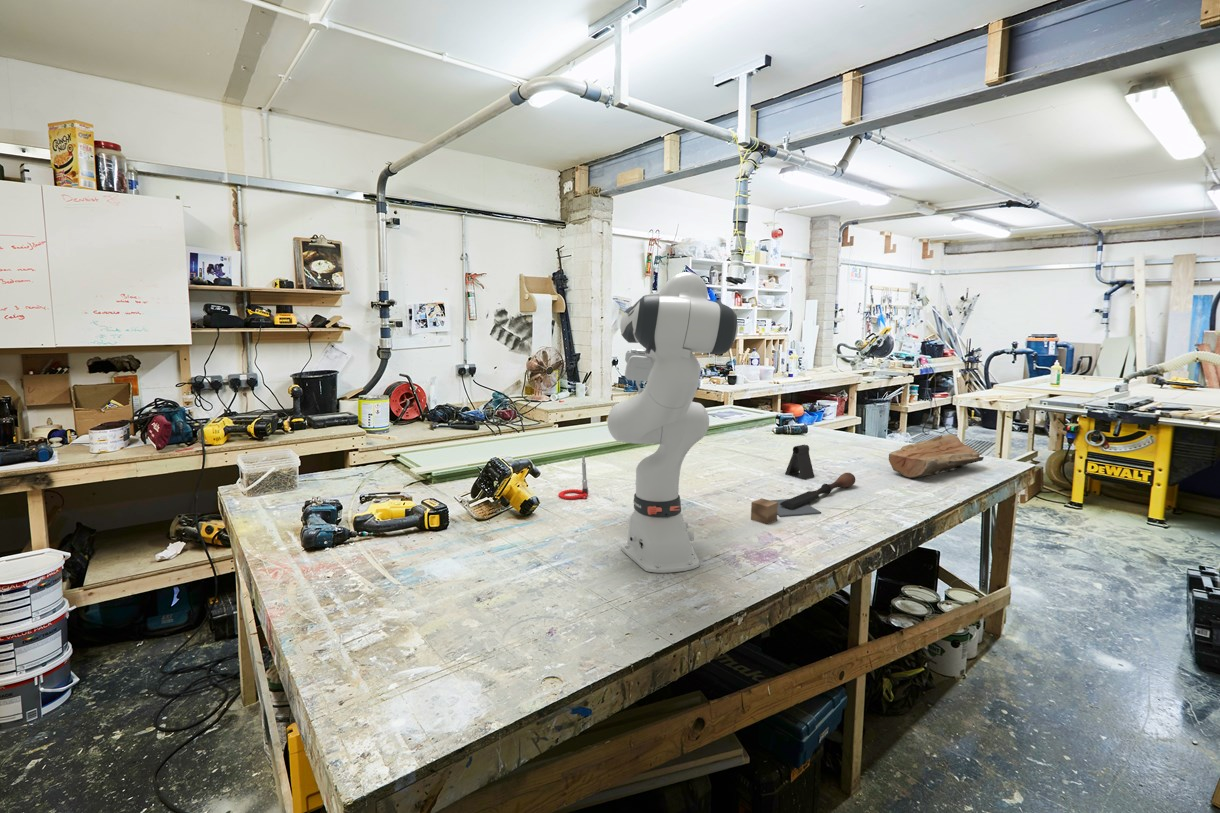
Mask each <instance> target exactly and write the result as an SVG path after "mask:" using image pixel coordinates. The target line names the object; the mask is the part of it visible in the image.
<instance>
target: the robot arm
mask: <svg viewBox="0 0 1220 813" xmlns="http://www.w3.org/2000/svg"><path fill="white" fill-rule="evenodd" d="M708 295H709V294H708V287H707V283H706V282H705V281H704V279H703V278H702V277H701V276H700V275H698V274H696V273H694V272H691V271H682V272H678V273H677V274H674V275H673V276H671V278H669V279H668V280H667V281H666V282H665V283H664V284H663V285H662V287H661V289H660V290H657V291H655V292H653V293H651V294H644V295H643V296H642V297H641V298H640V299H638V301H636V302H635V303H634V304H633V305H632V306H630V307H628V308H626V310H625V311H624V312H623V314H622V316H621V320H620V324H619V325H620V328H619V329H620V333H621V334H620V335H621V337H622V338H623V339H624V340H625V341H626V342H627V343H628V344H640V345H641V347H643V348H645V349H635V348H632V349H630V350H627V351H626V353H625V360H624V361H625V362H626V365H625V370H624V377H625V378H626V380H627V381H635V385H636V387H637V390H638V392H637V394H636V395H635V396H633V397H631V398H629V399H627V400H624V401H621V402H618V403H615V404H614V405H613V406H612V408H611V409H610V410H609V412H608V415H607V416H608V417H607V428H608V431H609V433H610V435H611V436H612V438H613V439H614V440H615V441H617V442H623V443H627V444H633V445H635V444H637V445H638V444H639V445H640V444H641V445H644V444H645V445H646V444H659V446H658V448H657V449H656V451H654V453H652V454H650V455H648V456H646V457H644V458H643V459H641V460H640V462H638V463H637V464H638V465H637V466H636V469H635V493H634V495H633V509H634V510H633V512H632V514H631V515H630V516H629V517H628V520H627V531H626V532H627V533H626V542H625V543H622V544H621V546H620V550H621V551H622V553H624V554H625V555H626V556H628V557H629V558H630V559H631V560H632V561H633V562H635V564H637V565H638V566H639V567H640V568H642V569H643V570H644V571H646V572H648V573H657V574H658V573H659V574H661V573H664V574H665V573H666V574H667V573H677V572H684V571H685V572H686V571H691V570H693V569H694V570H695V569H697V568H698V567H700V560H699V558H698V556H697V553H696V551H695V549H694V547H693V544H692V542H693V541H694V539H695V536H694V535H695V534H694V532H693V531H688V529H687V528H688V526H689V523H688V521H685V519H684V517H683V513H682V501H681V496H680V494H679V490H680V488H679V487H680V486H679V485H680V476H681V468H682V464H683V462H684V459H685V457H686V456H687V454H688V453H689V451H690V450H691V449H692V448H693V446H695V445H696V443H699V441H701V440H702V439H703V438H704V437H705V436H706V435H707V432H708V430H709V427H710V417H709V414H708V411H707V409H706V408H705V406H704V405H703V404H702V403H700V402H697V401H696V402H695V401H693V400H694V398H695V395H696V394H697V391H698V387H699V385H700V384H699V383H700V377H701V367H700V363H699V360H698V359H697V357H696V356H695V354H693V353H699V354H701V353H702V354H703V353H705V354H707V353H709V355H722V354H726V353H727V352H729V351H730V350H731V348H732V347H733V345H734V343H735V341H736V338H737V337H738V331H739V324H738V316H737V314H736V313H735V311H734V310H733V309H732V308H731V307H730V306H728V305H727V304H724V303H722V301H721V300H720V299H717V300H708V298H709V297H708ZM641 382H646V384H645V386H644V388H641V386H640V385H641Z"/></svg>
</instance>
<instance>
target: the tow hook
mask: <svg viewBox="0 0 1220 813" xmlns="http://www.w3.org/2000/svg"><path fill="white" fill-rule="evenodd" d="M581 458H582V461H581V462H582V463H581V472H582V474H581V475H582V481H581V482H582V484H581V485H582V489H576V488H574V489H573V488H572V489H565V490H561V491H560V492H558V498H559V499H561V500H578V499H583V500H587V497H588V495H589V487H588V479H587V467H586V466H587V465H586V464H587V463H586V457H585V455H583V456H582V457H581ZM572 493H573V494H576V495H567V494H572Z"/></svg>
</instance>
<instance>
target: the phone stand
mask: <svg viewBox="0 0 1220 813" xmlns="http://www.w3.org/2000/svg"><path fill="white" fill-rule="evenodd" d="M784 475H785V476H789V477H792V478H796V479H799V480H803V481H804V480H809V479H812V478H815V473H814V470H813V464H812V461H811V456H810V447H809V445H808V444H800V445H796V446H793V447H792V454H791V457H790V459H789V463H788V465H787V467H786V469H785V473H784Z"/></svg>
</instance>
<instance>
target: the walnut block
mask: <svg viewBox="0 0 1220 813" xmlns="http://www.w3.org/2000/svg"><path fill="white" fill-rule="evenodd" d="M750 506H751V508H750V509H751V510H750V520H752V521H754V522H758V523H761V524H764V525H768V524H769V525H770V524H771V523H774V522H776V521H777V520H778V515H777V509H778V502H774V501H770V500H769V499H766V498H762V497H761V498H759V499H756V500H754V501H752V502H751V505H750Z"/></svg>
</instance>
